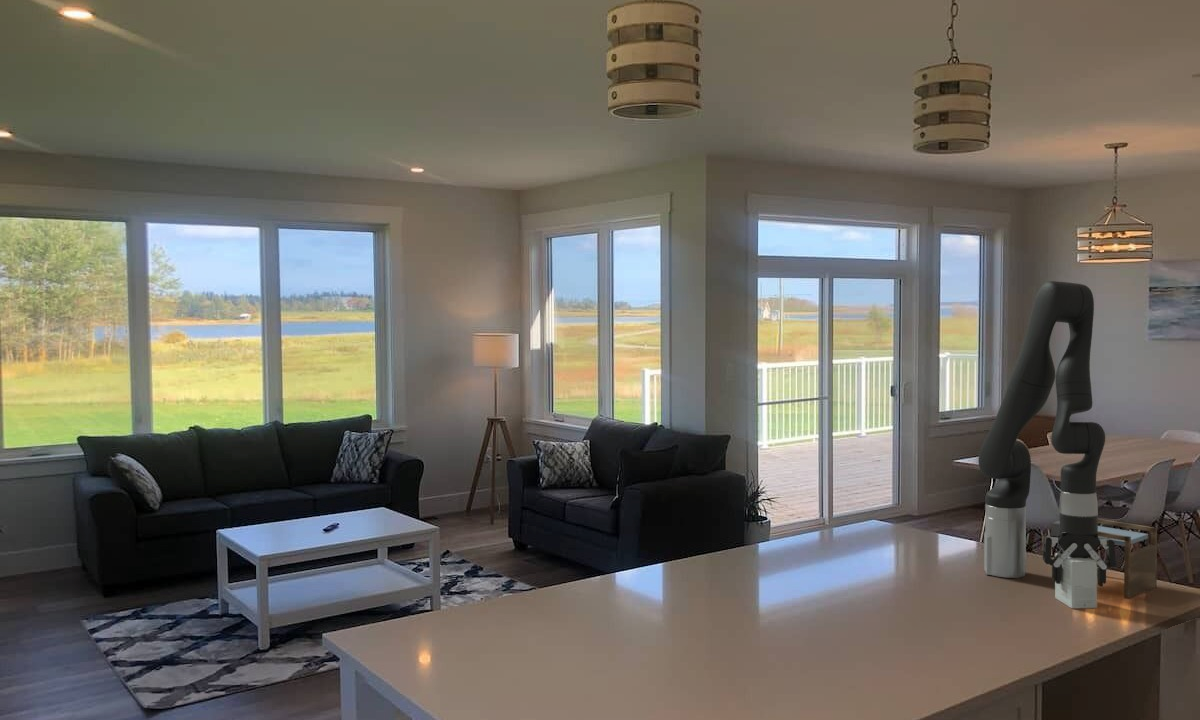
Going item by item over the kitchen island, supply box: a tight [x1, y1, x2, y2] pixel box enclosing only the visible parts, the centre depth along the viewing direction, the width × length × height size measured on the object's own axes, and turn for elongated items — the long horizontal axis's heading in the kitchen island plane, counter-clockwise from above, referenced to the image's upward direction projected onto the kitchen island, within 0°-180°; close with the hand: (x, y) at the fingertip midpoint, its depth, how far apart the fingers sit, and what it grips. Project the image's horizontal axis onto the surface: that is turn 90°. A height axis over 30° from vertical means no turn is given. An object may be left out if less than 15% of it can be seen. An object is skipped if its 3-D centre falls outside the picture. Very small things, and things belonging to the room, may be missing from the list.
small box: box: [1054, 552, 1098, 610], centre depth 205 cm, size 8×6×10 cm
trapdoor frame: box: [1060, 518, 1158, 599], centre depth 218 cm, size 15×15×14 cm
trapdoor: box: [1050, 520, 1149, 547], centre depth 220 cm, size 18×12×3 cm, turn 37°
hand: (1078, 584), depth 205 cm, fingers open, 8 cm apart
